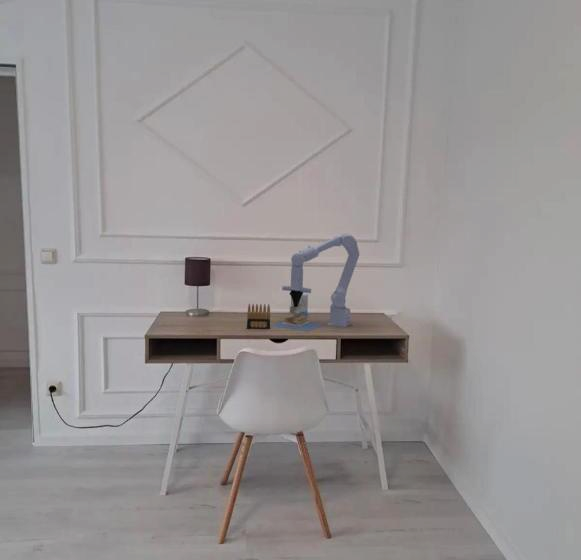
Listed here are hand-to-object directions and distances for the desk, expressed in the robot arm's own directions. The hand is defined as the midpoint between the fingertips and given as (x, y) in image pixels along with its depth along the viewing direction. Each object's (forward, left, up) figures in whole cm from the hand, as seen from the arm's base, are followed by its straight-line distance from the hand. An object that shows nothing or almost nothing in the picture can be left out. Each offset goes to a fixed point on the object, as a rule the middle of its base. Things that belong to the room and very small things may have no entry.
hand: (296, 306), depth 250 cm
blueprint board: (-3, +4, -8) cm, 10 cm away
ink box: (+7, -18, -9) cm, 21 cm away
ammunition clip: (+9, +20, -9) cm, 24 cm away
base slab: (0, 0, -8) cm, 8 cm away
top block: (0, 0, -5) cm, 5 cm away
